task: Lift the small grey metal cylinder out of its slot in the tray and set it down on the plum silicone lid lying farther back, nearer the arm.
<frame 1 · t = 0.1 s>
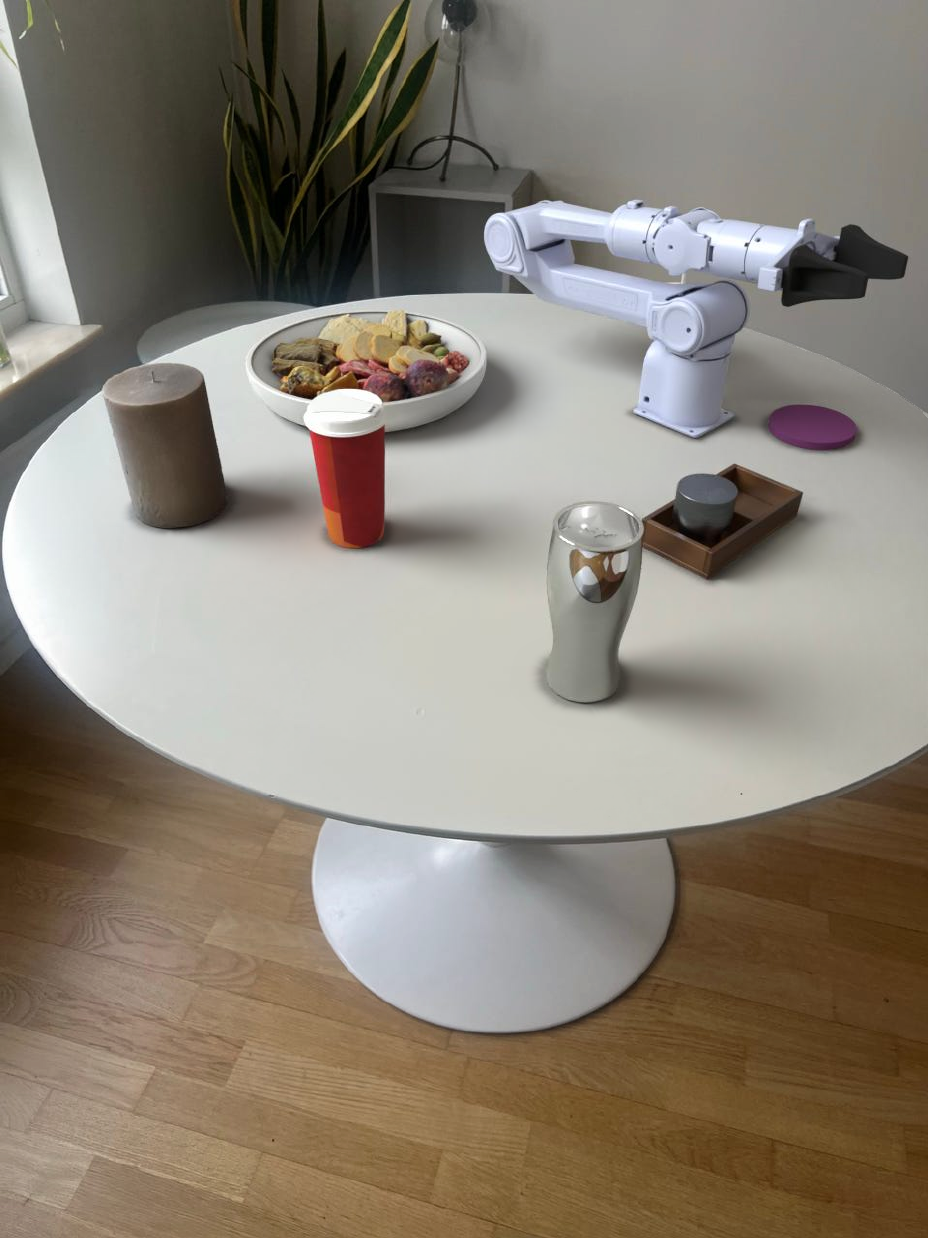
hand: (885, 276, 89), 22 cm above the table, tool horizontal, fingers open, 7 cm apart
beer glass: (582, 679, 77), on the table
plum lid: (810, 430, 111), on the table
paper cup: (356, 534, 94), on the table
grey metal cylinder: (697, 540, 92), resting on tray
tray: (719, 530, 94), on the table
smoothie: (667, 362, 127), on the table
pillar candle: (181, 506, 98), on the table
bowl: (369, 391, 120), on the table
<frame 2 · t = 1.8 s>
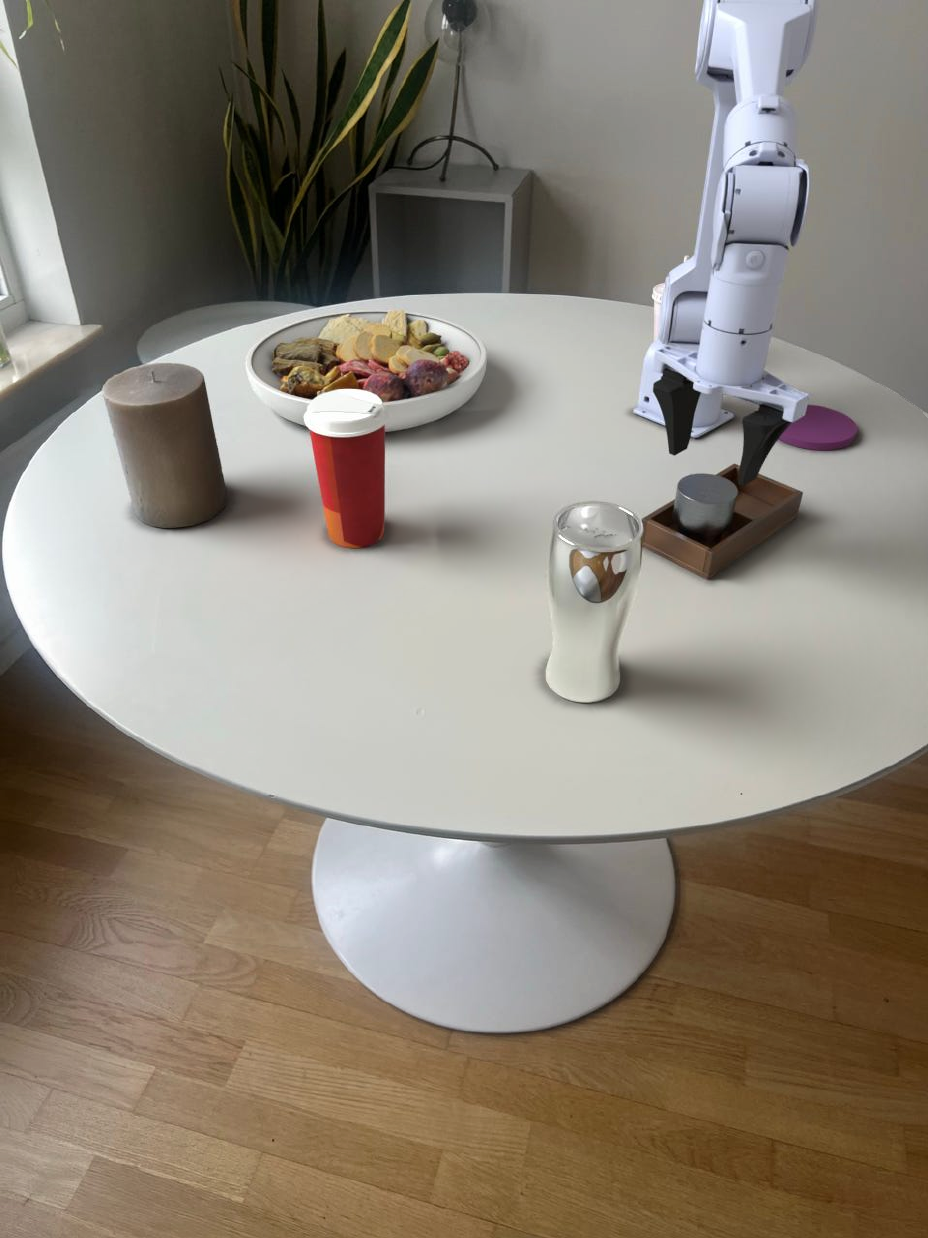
hand: (711, 465, 86), 9 cm above the table, tool pointing down, fingers open, 7 cm apart
nothing on the table moved.
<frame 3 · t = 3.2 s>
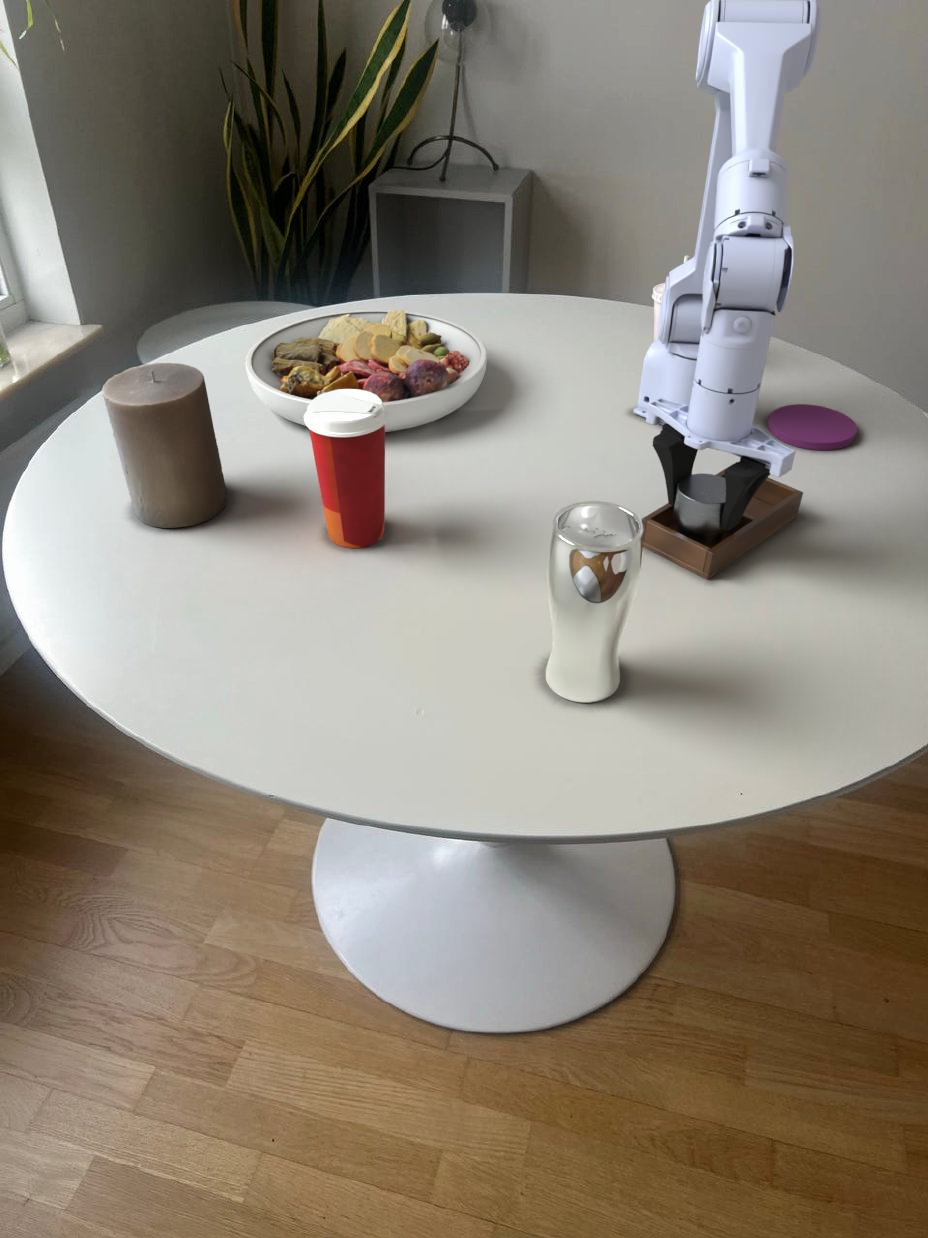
hand: (702, 513, 90), 4 cm above the table, tool pointing down, fingers closed on grey metal cylinder, 5 cm apart
grey metal cylinder: (697, 541, 92), point 1 cm above the table, touching gripper, tray
everything else where it was.
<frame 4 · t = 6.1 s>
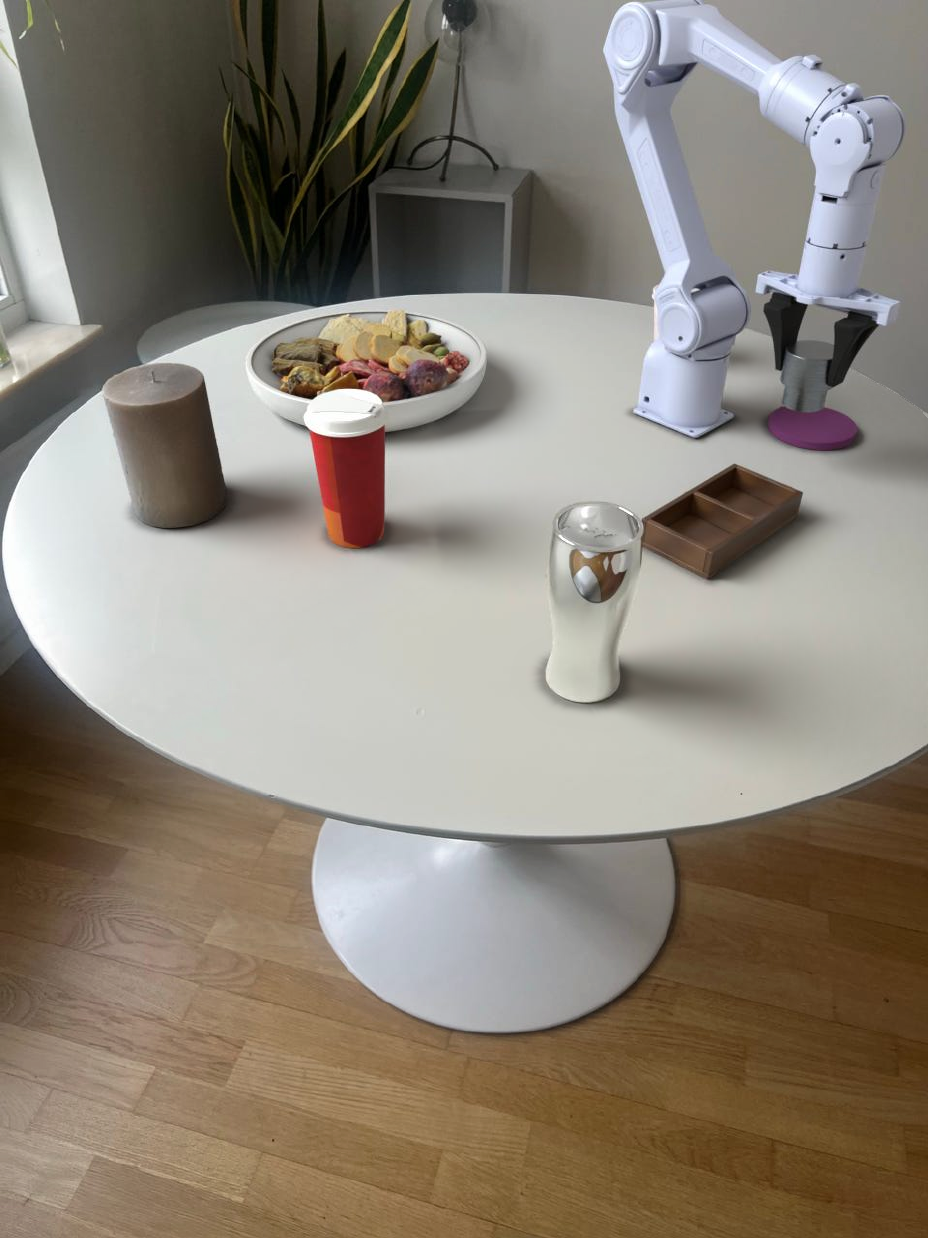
hand: (808, 375, 98), 10 cm above the table, tool pointing down, fingers closed on grey metal cylinder, 5 cm apart
grey metal cylinder: (802, 403, 100), point 7 cm above the table, touching gripper
everything else where it was.
when the fingers open (4 cm above the table, at t = 9.5 s): grey metal cylinder stays where it is, resting on plum lid.
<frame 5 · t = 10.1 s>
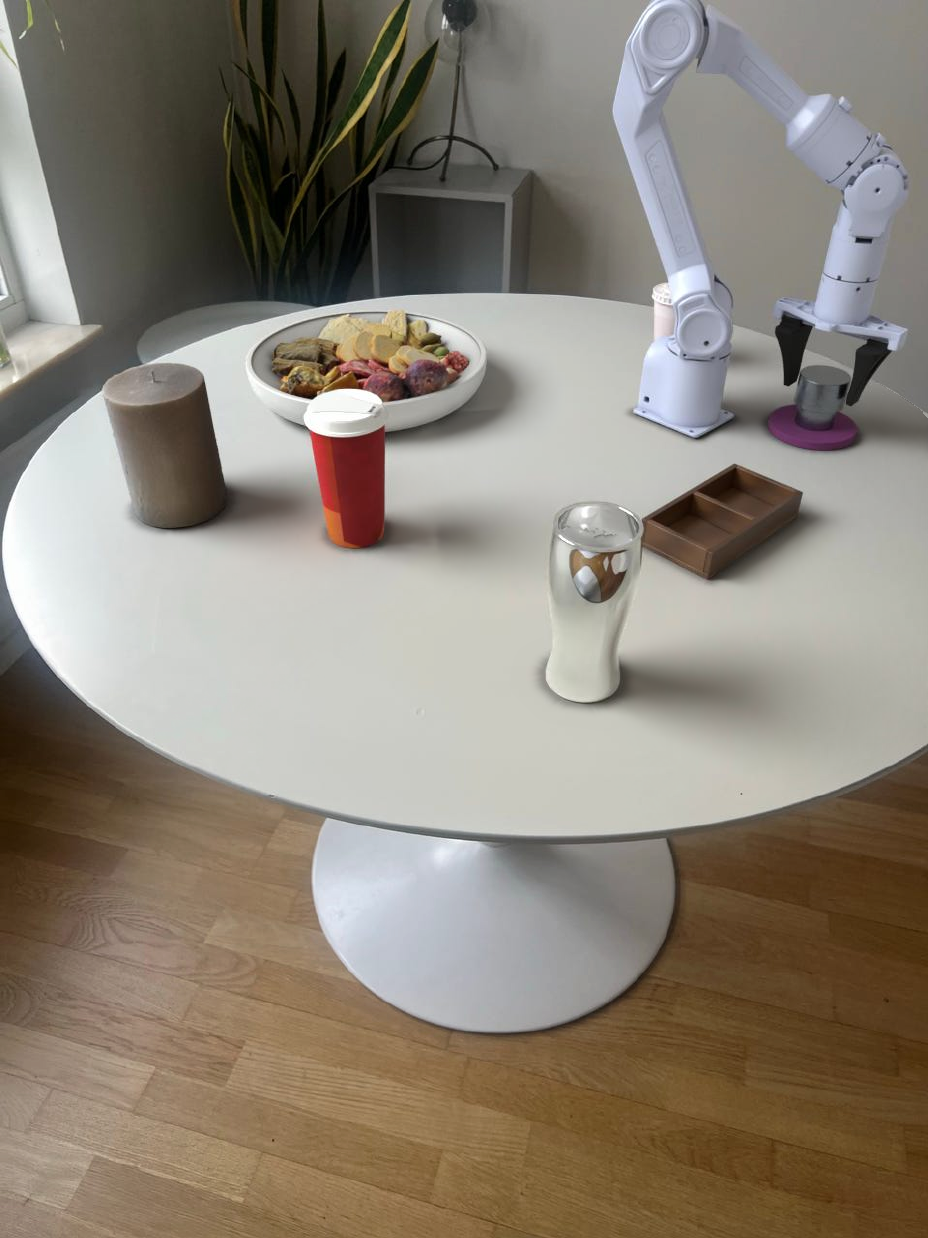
hand: (820, 392, 108), 5 cm above the table, tool pointing down, fingers open, 7 cm apart
plum lid: (810, 430, 111), on the table, touching grey metal cylinder
grey metal cylinder: (813, 422, 110), point 1 cm above the table, touching plum lid
everything else where it was.
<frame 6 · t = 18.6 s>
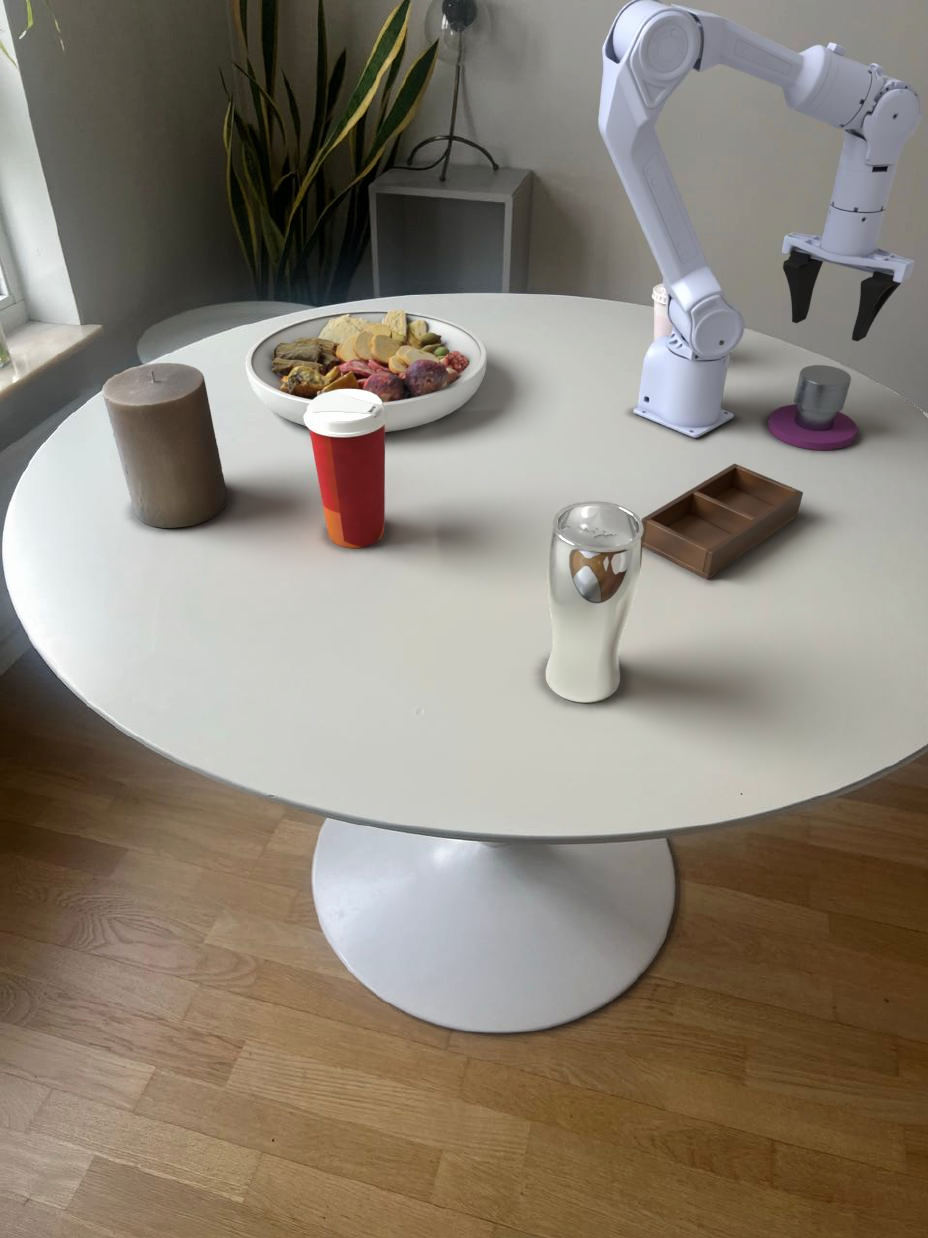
hand: (828, 329, 108), 10 cm above the table, tool pointing down, fingers open, 7 cm apart
nothing on the table moved.
at the end: grey metal cylinder 0.1 cm off-centre on the plum lid, point 1.0 cm above the plum lid's base; grey metal cylinder tilted 0°; the gripper is holding nothing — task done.
